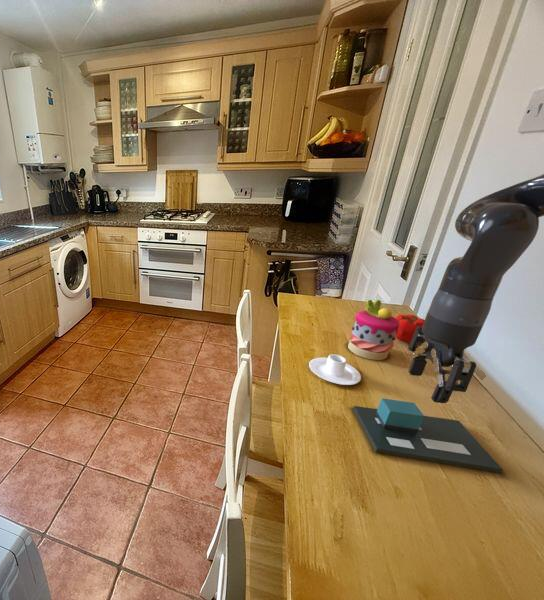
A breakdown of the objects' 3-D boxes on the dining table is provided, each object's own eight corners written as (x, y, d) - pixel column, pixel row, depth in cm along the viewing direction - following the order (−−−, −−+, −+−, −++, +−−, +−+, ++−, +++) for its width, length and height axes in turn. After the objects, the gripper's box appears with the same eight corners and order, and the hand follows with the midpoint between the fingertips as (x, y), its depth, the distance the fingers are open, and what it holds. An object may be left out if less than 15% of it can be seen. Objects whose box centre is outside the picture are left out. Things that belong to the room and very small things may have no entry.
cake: (396, 355, 92) (414, 308, 86) (374, 364, 88) (391, 315, 82) (360, 338, 100) (374, 294, 95) (338, 346, 96) (351, 301, 90)
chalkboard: (456, 424, 68) (458, 420, 67) (500, 473, 57) (503, 469, 56) (352, 409, 72) (353, 405, 71) (375, 452, 61) (376, 448, 61)
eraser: (407, 419, 67) (414, 402, 66) (417, 433, 64) (424, 416, 62) (375, 414, 69) (381, 398, 67) (383, 428, 65) (390, 411, 63)
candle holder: (355, 393, 76) (360, 379, 75) (302, 374, 84) (306, 360, 82) (363, 371, 85) (368, 357, 83) (315, 354, 92) (318, 342, 90)
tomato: (400, 330, 105) (407, 310, 102) (429, 343, 98) (438, 322, 95) (379, 334, 103) (386, 314, 100) (407, 348, 95) (416, 326, 92)
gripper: (512, 336, 50) (472, 415, 57) (455, 301, 63) (427, 368, 69) (456, 332, 52) (423, 409, 58) (411, 298, 65) (388, 364, 71)
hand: (425, 387), depth 64 cm, fingers open, 8 cm apart
